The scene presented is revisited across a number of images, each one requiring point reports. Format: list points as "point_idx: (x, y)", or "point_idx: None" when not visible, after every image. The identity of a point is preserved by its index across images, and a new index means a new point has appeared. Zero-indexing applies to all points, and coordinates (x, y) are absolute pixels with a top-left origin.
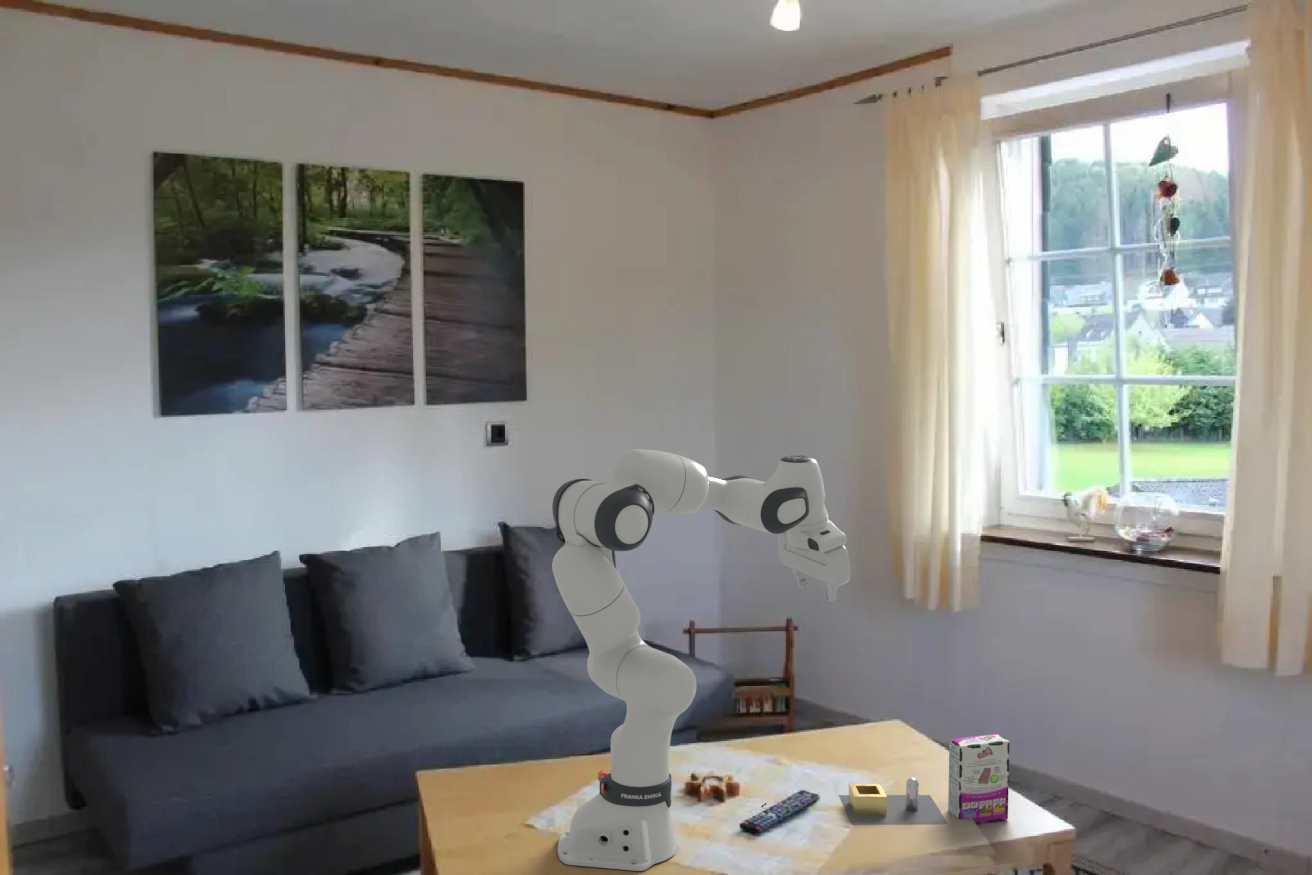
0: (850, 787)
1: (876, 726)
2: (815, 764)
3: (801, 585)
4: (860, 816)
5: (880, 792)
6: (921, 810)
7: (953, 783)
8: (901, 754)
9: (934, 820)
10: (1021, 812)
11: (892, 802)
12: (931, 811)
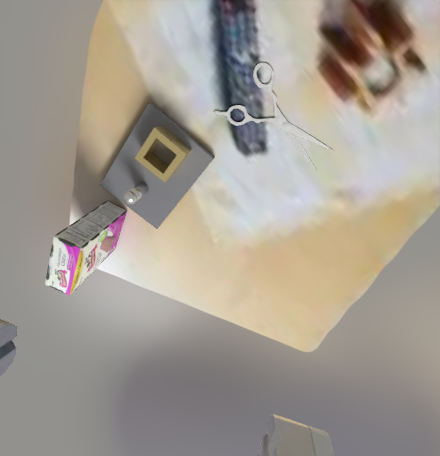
0: (178, 147)
1: (315, 338)
2: (302, 221)
3: (287, 442)
4: None
5: (147, 162)
6: None
7: (97, 220)
8: (252, 298)
9: (112, 182)
10: None
11: (165, 187)
12: None
